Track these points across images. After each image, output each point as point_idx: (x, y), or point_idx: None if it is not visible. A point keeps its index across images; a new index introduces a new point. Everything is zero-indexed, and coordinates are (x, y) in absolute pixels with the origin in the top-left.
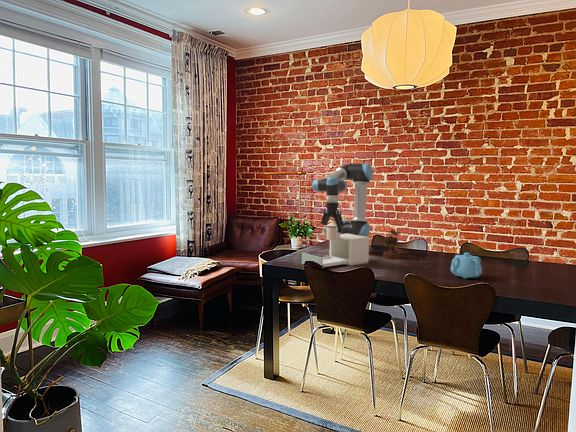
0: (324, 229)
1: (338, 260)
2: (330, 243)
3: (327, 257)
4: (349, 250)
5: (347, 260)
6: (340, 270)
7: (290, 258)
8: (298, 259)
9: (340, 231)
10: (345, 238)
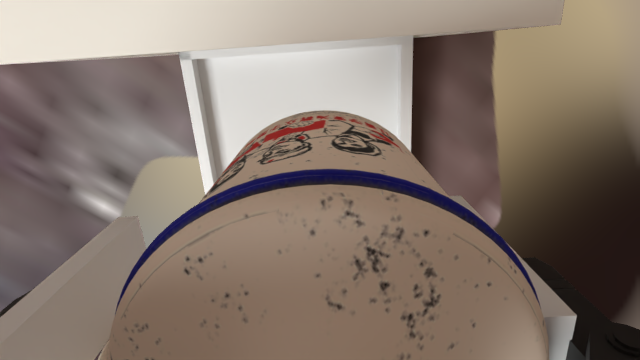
0: (106, 353)
1: (313, 72)
2: (100, 58)
3: (201, 108)
4: (456, 33)
5: (412, 49)
6: (487, 194)
7: (4, 262)
8: (55, 235)
9: (552, 278)
10: (418, 34)
